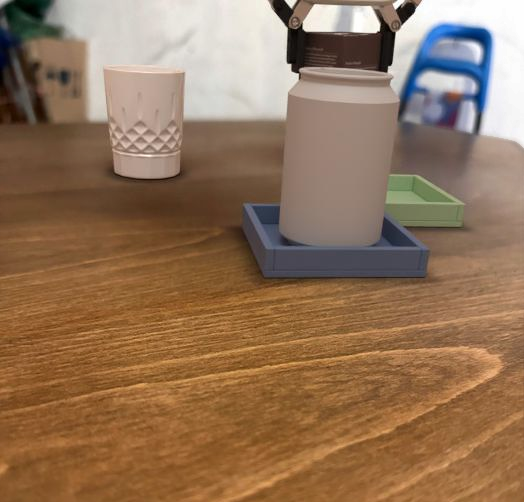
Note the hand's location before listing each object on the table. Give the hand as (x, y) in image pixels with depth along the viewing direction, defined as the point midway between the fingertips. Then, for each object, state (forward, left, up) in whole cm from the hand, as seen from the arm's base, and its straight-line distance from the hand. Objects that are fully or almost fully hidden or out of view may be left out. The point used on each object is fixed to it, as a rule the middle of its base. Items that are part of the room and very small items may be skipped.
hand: (338, 72), depth 69 cm
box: (0, 0, -4) cm, 4 cm away
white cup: (+20, +1, -11) cm, 22 cm away
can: (+7, +26, -10) cm, 28 cm away
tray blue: (+7, +26, -10) cm, 29 cm away
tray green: (-1, +14, -10) cm, 17 cm away
